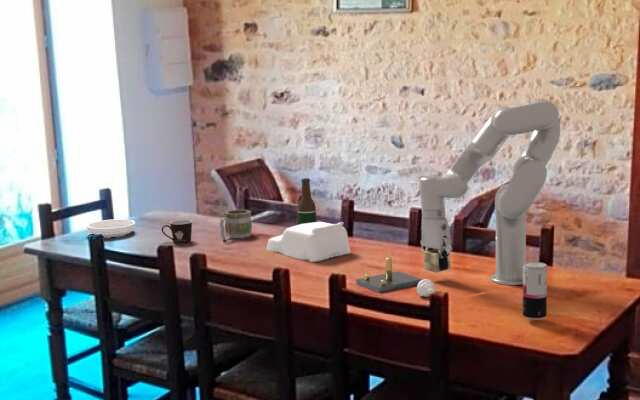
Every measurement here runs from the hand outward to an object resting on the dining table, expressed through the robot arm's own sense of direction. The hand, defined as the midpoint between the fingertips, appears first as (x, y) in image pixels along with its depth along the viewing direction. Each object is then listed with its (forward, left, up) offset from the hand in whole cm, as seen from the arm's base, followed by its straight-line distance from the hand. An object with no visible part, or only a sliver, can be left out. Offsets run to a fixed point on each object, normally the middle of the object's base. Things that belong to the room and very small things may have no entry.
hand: (437, 267), depth 297 cm
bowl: (+132, +66, -5) cm, 148 cm away
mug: (+96, +27, -5) cm, 100 cm away
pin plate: (+6, +15, -4) cm, 17 cm away
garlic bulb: (-14, +15, -5) cm, 21 cm away
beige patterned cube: (0, 0, -1) cm, 1 cm away
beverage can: (-47, +3, -5) cm, 48 cm away
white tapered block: (+58, +15, -5) cm, 61 cm away
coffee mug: (+103, +48, -5) cm, 114 cm away
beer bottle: (+86, -1, -5) cm, 86 cm away
